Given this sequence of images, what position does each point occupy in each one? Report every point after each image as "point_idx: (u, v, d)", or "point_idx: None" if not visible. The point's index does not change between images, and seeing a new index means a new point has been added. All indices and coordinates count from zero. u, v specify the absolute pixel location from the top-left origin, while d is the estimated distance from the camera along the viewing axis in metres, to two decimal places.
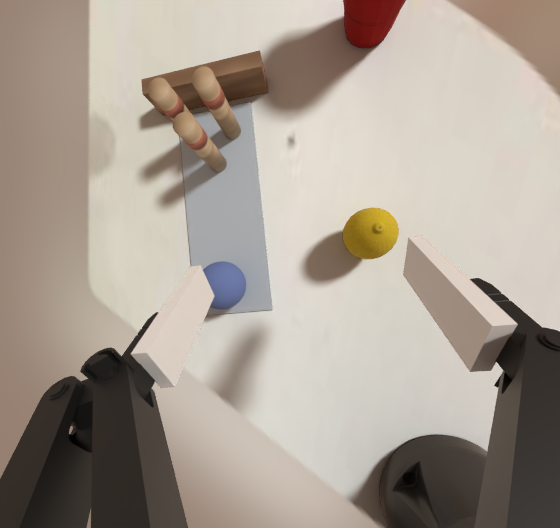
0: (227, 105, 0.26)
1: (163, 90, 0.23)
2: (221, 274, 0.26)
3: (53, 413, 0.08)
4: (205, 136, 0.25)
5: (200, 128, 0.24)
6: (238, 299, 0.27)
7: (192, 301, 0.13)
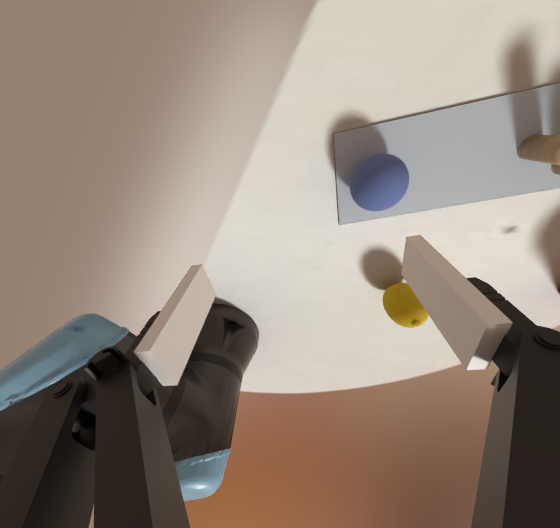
0: None
1: None
2: (398, 197, 0.23)
3: (57, 411, 0.08)
4: None
5: None
6: (362, 207, 0.26)
7: (194, 300, 0.13)
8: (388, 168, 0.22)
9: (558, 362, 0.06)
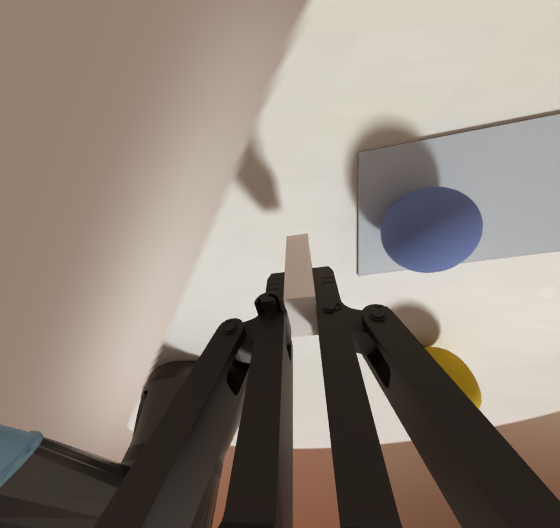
0: None
1: None
2: (464, 259, 0.14)
3: (223, 348, 0.09)
4: None
5: None
6: (399, 264, 0.17)
7: None
8: (454, 216, 0.13)
9: (336, 320, 0.09)
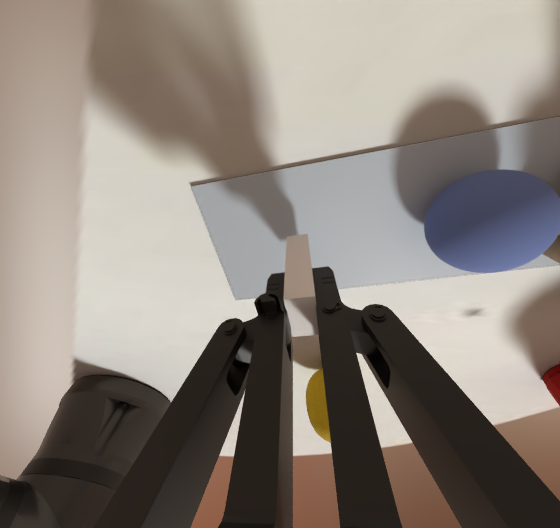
0: None
1: None
2: (438, 251, 0.14)
3: (223, 348, 0.09)
4: None
5: None
6: None
7: None
8: (440, 197, 0.13)
9: (336, 320, 0.09)
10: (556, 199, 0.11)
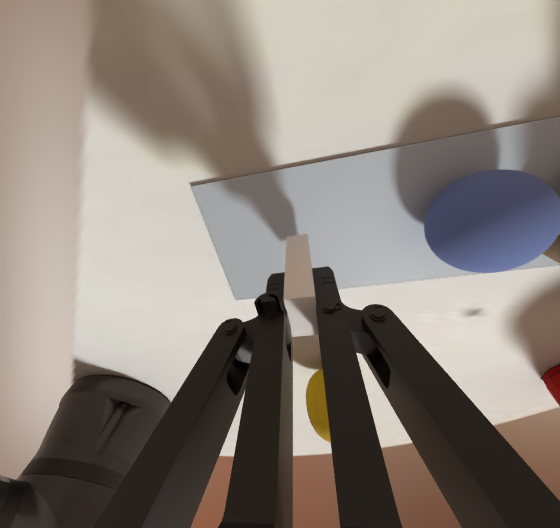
0: None
1: None
2: (438, 251, 0.14)
3: (223, 348, 0.09)
4: None
5: None
6: None
7: None
8: (440, 197, 0.13)
9: (336, 320, 0.09)
10: (556, 199, 0.11)
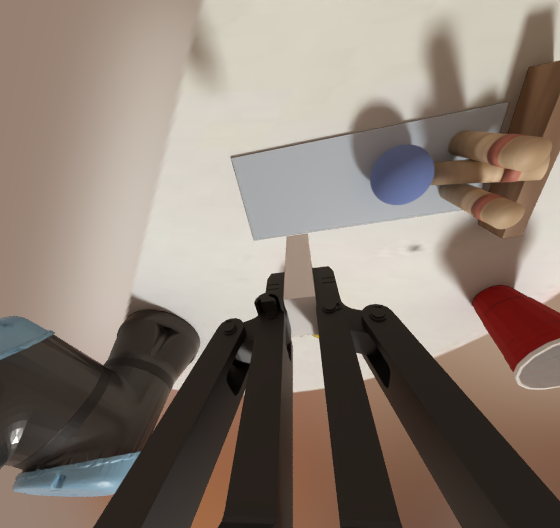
0: None
1: (524, 164, 0.17)
2: (375, 192, 0.24)
3: (222, 348, 0.09)
4: None
5: None
6: None
7: None
8: (376, 161, 0.24)
9: (336, 320, 0.09)
10: (426, 158, 0.21)
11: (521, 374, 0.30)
